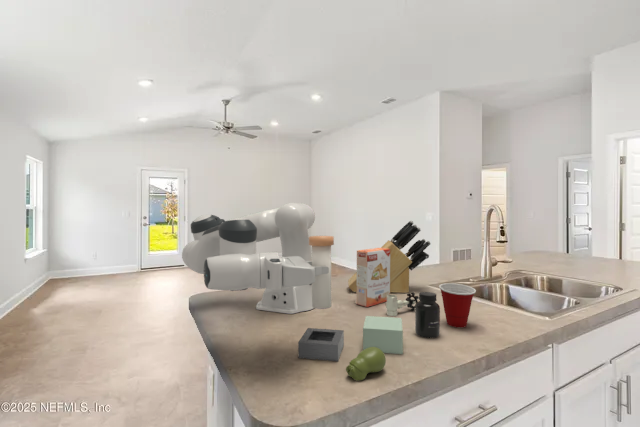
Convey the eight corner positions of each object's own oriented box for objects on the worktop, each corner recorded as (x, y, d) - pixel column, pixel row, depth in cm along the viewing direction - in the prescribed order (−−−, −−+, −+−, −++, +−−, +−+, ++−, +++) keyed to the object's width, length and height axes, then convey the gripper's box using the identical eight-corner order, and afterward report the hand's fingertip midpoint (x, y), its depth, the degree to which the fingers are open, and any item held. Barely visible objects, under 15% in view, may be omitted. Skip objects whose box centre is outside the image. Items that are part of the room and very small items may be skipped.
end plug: (306, 308, 86) (306, 237, 86) (312, 301, 92) (312, 235, 92) (331, 310, 85) (331, 238, 84) (335, 303, 91) (335, 235, 90)
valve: (393, 318, 114) (420, 313, 119) (393, 298, 114) (420, 294, 119) (381, 313, 120) (407, 308, 125) (381, 294, 120) (407, 290, 125)
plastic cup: (457, 333, 100) (457, 292, 100) (431, 321, 110) (431, 285, 110) (484, 327, 104) (484, 288, 104) (457, 317, 114) (457, 281, 114)
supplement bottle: (436, 340, 95) (436, 297, 95) (412, 335, 98) (412, 294, 98) (442, 332, 101) (442, 292, 100) (419, 328, 104) (418, 289, 104)
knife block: (431, 294, 144) (431, 221, 144) (348, 293, 147) (348, 221, 146) (425, 287, 156) (425, 220, 155) (348, 287, 158) (347, 220, 157)
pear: (389, 348, 77) (355, 367, 71) (392, 370, 78) (359, 390, 72) (372, 340, 82) (339, 357, 76) (375, 360, 82) (342, 379, 77)
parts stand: (363, 351, 88) (363, 328, 88) (366, 336, 98) (365, 315, 98) (402, 354, 86) (402, 330, 86) (401, 339, 96) (401, 317, 96)
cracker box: (367, 308, 125) (367, 251, 125) (355, 304, 130) (355, 250, 130) (391, 300, 135) (390, 248, 134) (379, 297, 139) (378, 246, 139)
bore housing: (298, 358, 85) (298, 342, 85) (308, 342, 95) (307, 327, 94) (338, 361, 83) (338, 345, 83) (343, 344, 92) (343, 330, 92)
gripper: (268, 274, 95) (316, 271, 99) (275, 292, 75) (335, 288, 79) (267, 252, 95) (316, 250, 98) (275, 264, 75) (335, 261, 78)
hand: (324, 267), depth 88 cm, fingers closed on end plug, 5 cm apart
